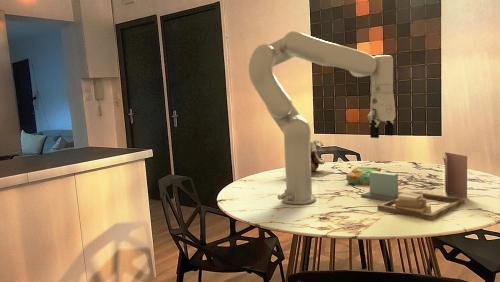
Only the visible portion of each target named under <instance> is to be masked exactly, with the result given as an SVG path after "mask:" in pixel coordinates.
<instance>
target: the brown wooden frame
mask: <svg viewBox="0 0 500 282" xmlns="http://www.w3.org/2000/svg"><path fill="white" fill-rule="evenodd" d="M409 193H416V194H422V195H423V198H424V199H429V200H434V201H440V202H441V201H442V202H445V203H446V202H448V203H450V204H447V205H445V206H444V207H441V208H439V209H437V210H436V211H434V212H431V213H422V212H416V211H411V210H406V209H400V208H395V207H391V205H394V204H395V200H397V199H398V198H395V199H392V200H390V201H384V202H382V203H380V204H377V210H378V211H382V212H388V213H393V214H397V215H401V216H402V215H403V216H407V217H412V218H419V219H421V220H428V221H433V220H437V218H439V217H442V216H444V215H445V214H447V213H449V212H451V211H453V210H455V209H457V208H459V207H461V206H463V205H465V203H466V199H465V198H459V197H453V196H448V195H447V196H446V195H439V194H433V193H426V192H420V191H410V192H409Z"/></svg>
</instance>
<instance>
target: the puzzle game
mask: <svg viewBox="0 0 500 282" xmlns="http://www.w3.org/2000/svg"><path fill="white" fill-rule="evenodd" d="M381 168H382V167H367V166H365V167H364V166H362V167H361V166H360V167H359V166H356V167H354V168H352V169H351V171H349V173H347V174H346V177H345V180H346V181H347V182H348V183H349V184H350V183H352V184H351V185H370V174H369V172H372V171H379V172H382V169H381Z"/></svg>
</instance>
